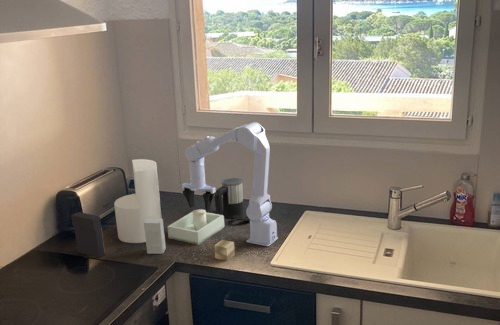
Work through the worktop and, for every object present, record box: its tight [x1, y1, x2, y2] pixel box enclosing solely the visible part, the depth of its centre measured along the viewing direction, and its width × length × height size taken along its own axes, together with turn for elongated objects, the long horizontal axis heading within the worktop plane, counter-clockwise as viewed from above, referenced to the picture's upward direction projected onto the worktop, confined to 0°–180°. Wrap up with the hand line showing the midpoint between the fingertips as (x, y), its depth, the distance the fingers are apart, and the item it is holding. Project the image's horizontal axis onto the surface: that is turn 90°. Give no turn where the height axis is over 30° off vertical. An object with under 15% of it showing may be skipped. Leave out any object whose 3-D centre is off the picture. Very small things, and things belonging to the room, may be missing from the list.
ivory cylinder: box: [192, 208, 207, 231], centre depth 211 cm, size 5×5×7 cm
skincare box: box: [144, 218, 167, 255], centre depth 194 cm, size 6×4×12 cm
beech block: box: [214, 239, 236, 262], centre depth 189 cm, size 5×5×5 cm
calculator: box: [70, 211, 106, 259], centre depth 194 cm, size 11×4×15 cm, turn 59°
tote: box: [167, 209, 225, 246], centre depth 210 cm, size 14×18×5 cm
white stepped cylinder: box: [113, 158, 163, 244], centre depth 208 cm, size 17×17×28 cm
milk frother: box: [213, 177, 250, 223], centre depth 222 cm, size 14×16×15 cm
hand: (199, 208), depth 210 cm, fingers open, 7 cm apart
